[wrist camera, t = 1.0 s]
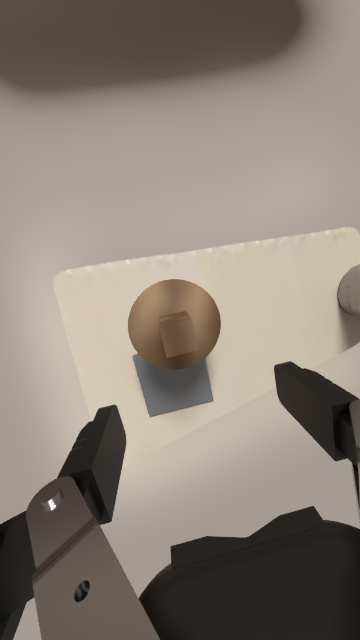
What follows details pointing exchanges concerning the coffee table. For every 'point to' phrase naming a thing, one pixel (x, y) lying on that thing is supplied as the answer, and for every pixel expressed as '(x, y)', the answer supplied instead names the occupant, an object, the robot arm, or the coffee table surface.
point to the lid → (174, 324)
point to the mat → (172, 386)
